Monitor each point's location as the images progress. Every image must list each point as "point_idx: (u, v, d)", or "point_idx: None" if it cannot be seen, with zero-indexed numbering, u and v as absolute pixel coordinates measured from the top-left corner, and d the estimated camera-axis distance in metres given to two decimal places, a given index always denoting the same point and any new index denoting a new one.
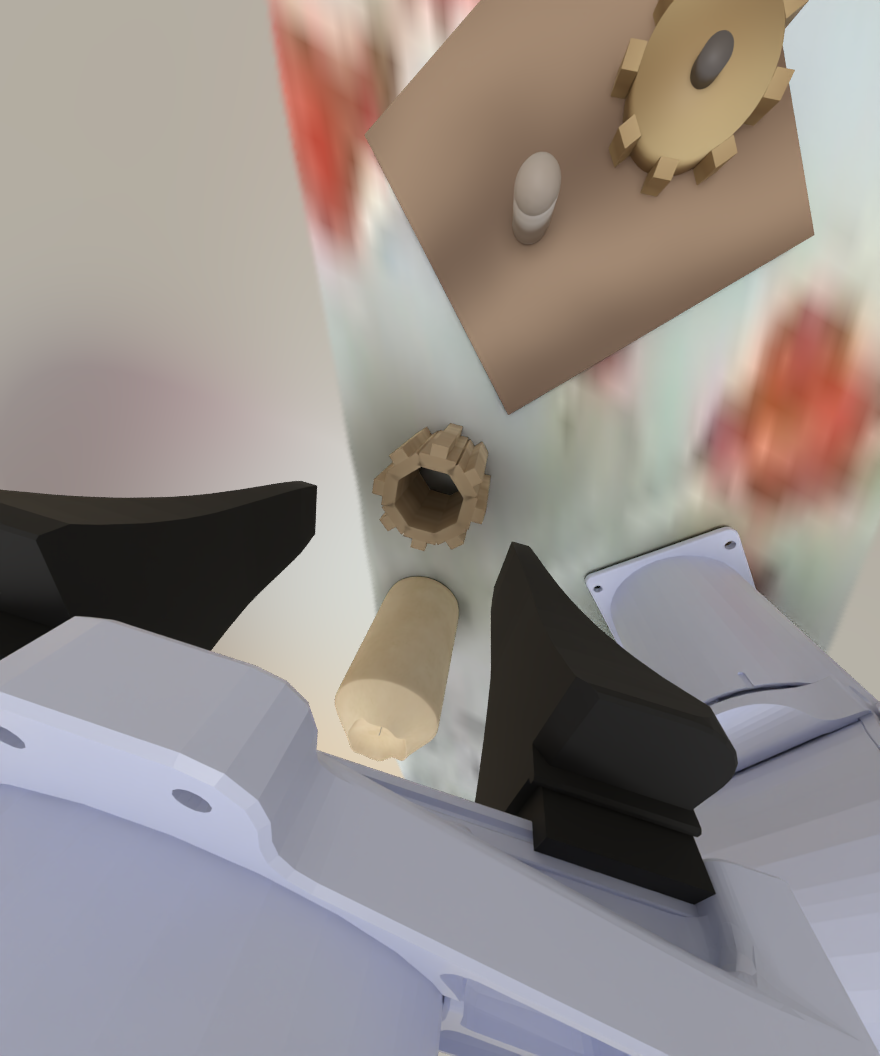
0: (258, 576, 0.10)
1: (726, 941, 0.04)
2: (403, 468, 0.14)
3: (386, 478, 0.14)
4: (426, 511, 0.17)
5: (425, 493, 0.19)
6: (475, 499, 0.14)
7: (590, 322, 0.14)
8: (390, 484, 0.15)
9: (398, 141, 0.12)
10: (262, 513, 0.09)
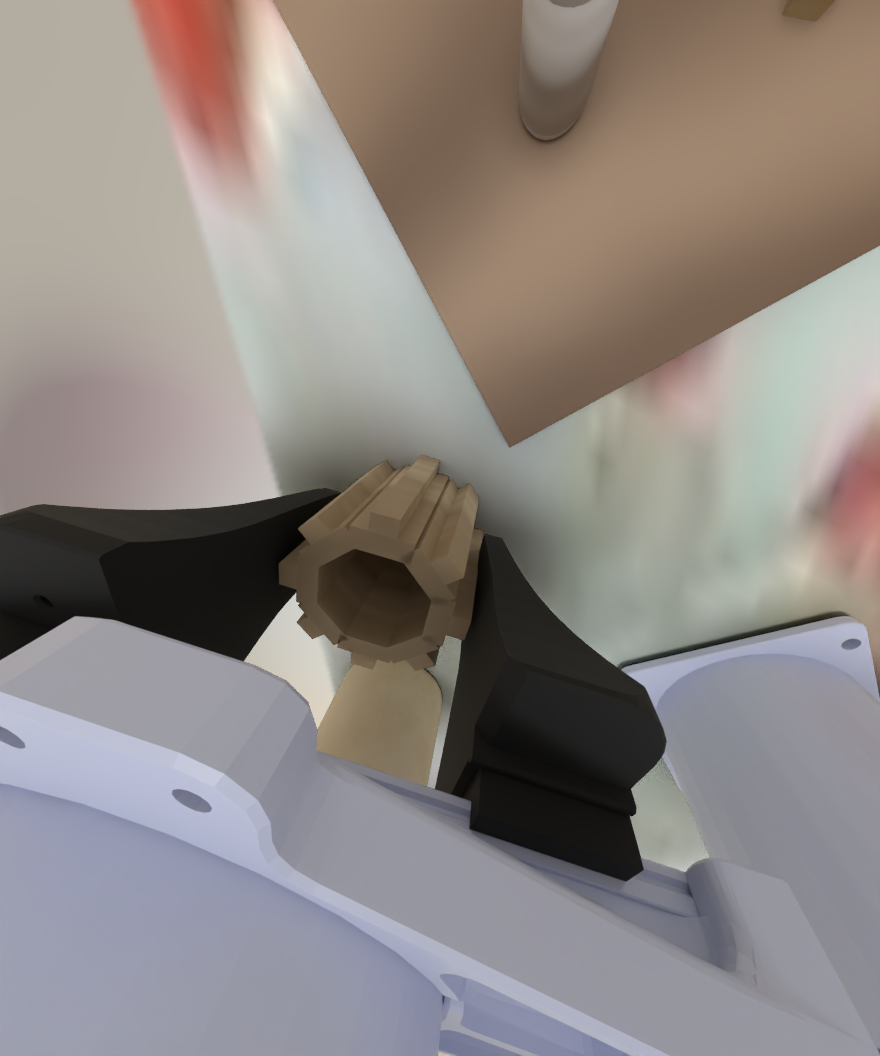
0: None
1: (726, 941, 0.04)
2: (325, 549, 0.08)
3: (298, 563, 0.08)
4: (382, 594, 0.11)
5: None
6: (452, 604, 0.08)
7: (657, 291, 0.08)
8: (306, 573, 0.08)
9: None
10: (294, 522, 0.09)
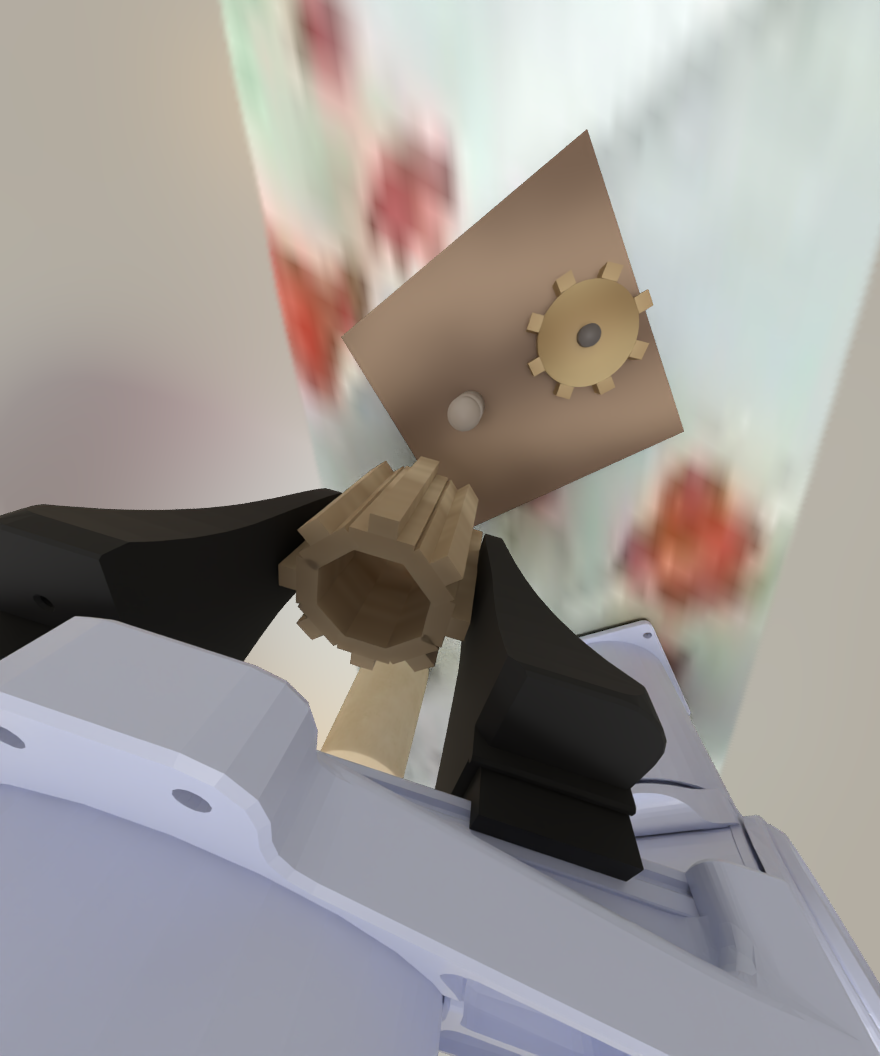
0: None
1: (726, 941, 0.04)
2: (324, 551, 0.08)
3: (298, 564, 0.08)
4: (381, 595, 0.11)
5: None
6: (451, 605, 0.08)
7: (522, 473, 0.17)
8: (306, 574, 0.09)
9: (367, 343, 0.16)
10: (294, 522, 0.09)
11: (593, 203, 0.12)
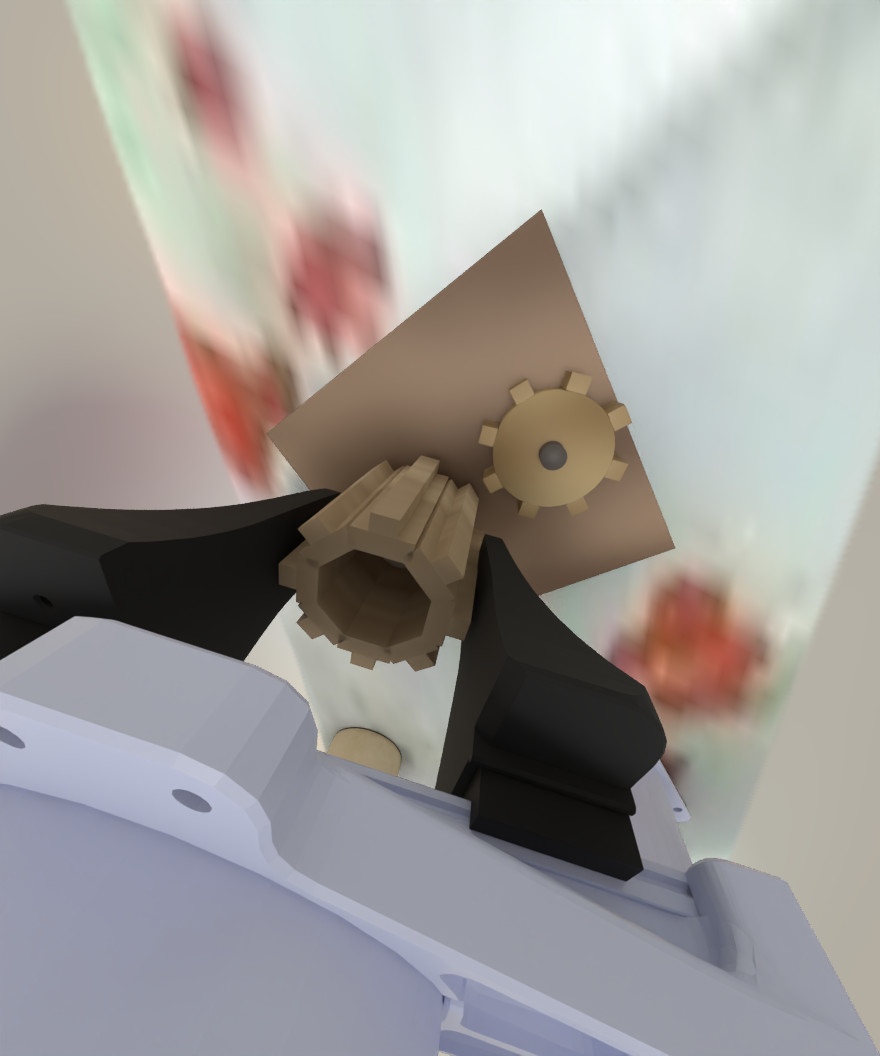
0: None
1: (726, 941, 0.04)
2: (324, 550, 0.08)
3: (298, 564, 0.08)
4: (382, 594, 0.11)
5: None
6: (451, 604, 0.08)
7: None
8: (306, 573, 0.08)
9: (297, 441, 0.13)
10: (294, 522, 0.09)
11: (554, 296, 0.10)
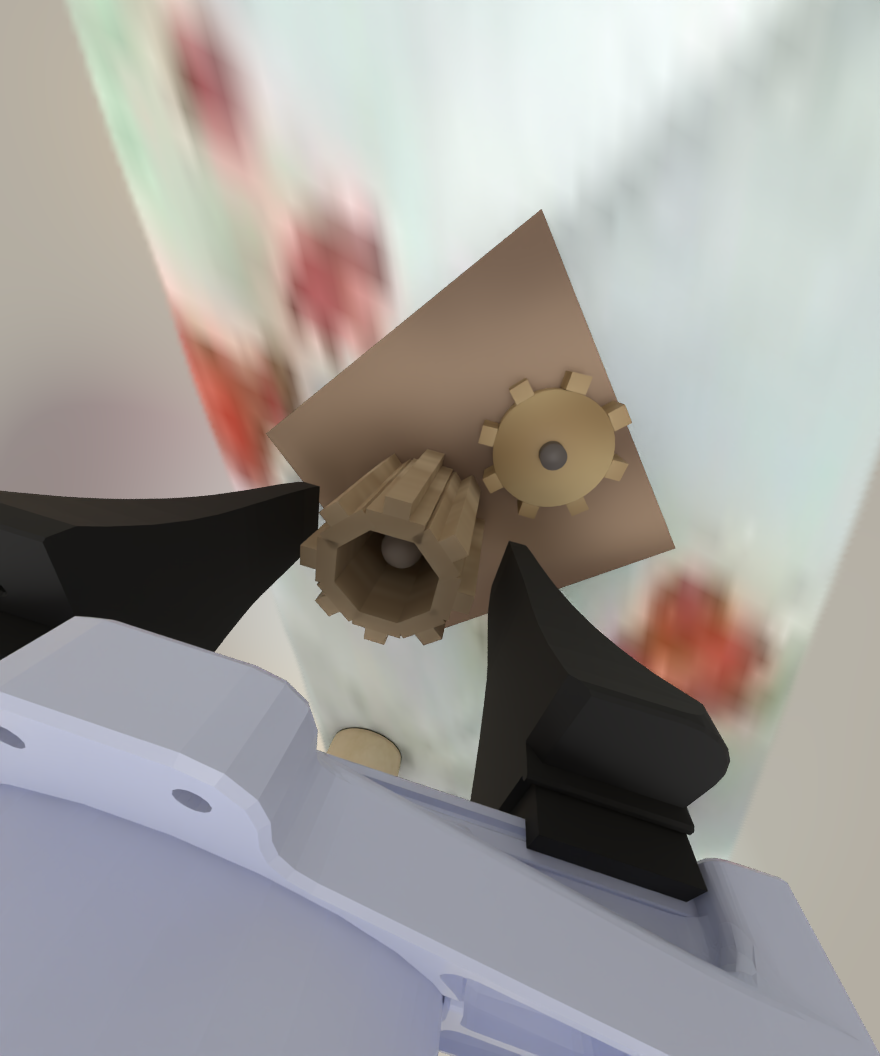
0: (261, 577, 0.10)
1: (726, 941, 0.04)
2: (343, 531, 0.09)
3: (318, 545, 0.09)
4: (391, 577, 0.12)
5: None
6: (457, 580, 0.09)
7: (487, 581, 0.15)
8: (325, 553, 0.09)
9: (297, 441, 0.13)
10: (266, 514, 0.09)
11: (554, 296, 0.10)
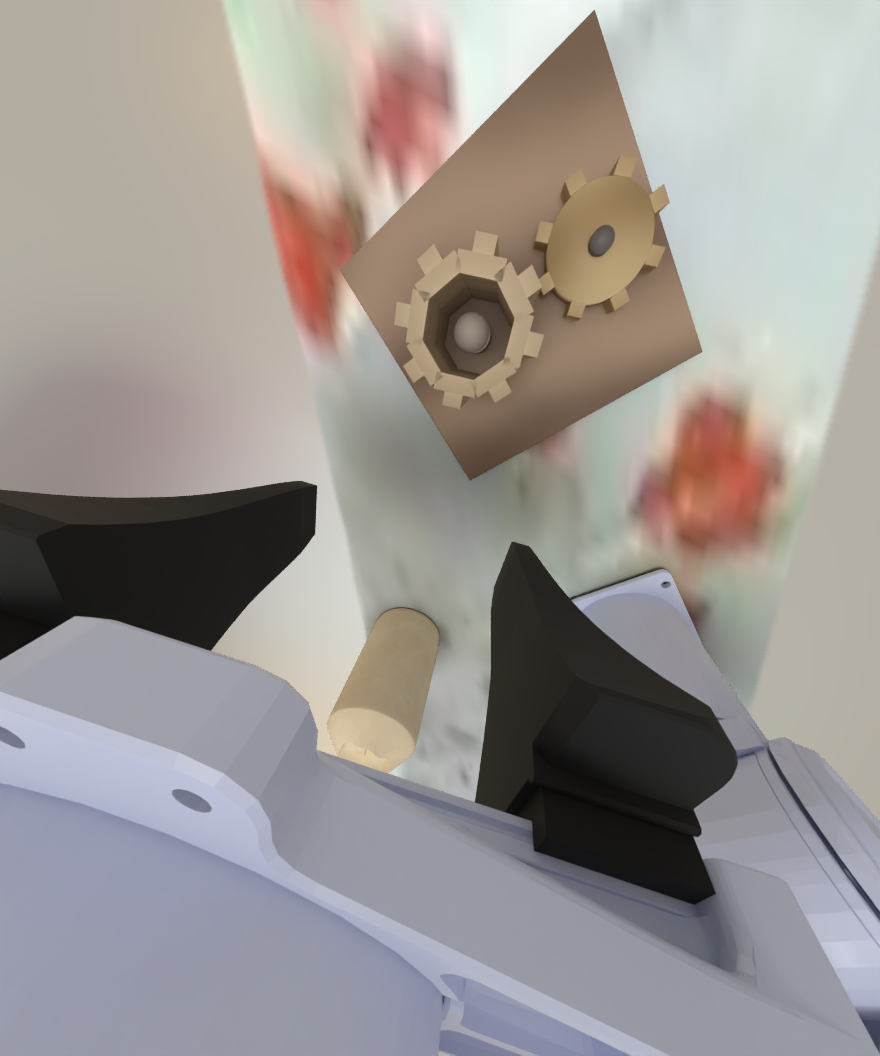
0: (258, 576, 0.10)
1: (726, 942, 0.04)
2: (436, 278, 0.11)
3: (413, 298, 0.11)
4: (458, 372, 0.14)
5: (453, 366, 0.16)
6: (530, 317, 0.11)
7: (532, 411, 0.17)
8: (418, 307, 0.11)
9: (367, 275, 0.15)
10: (262, 513, 0.09)
11: (602, 96, 0.12)
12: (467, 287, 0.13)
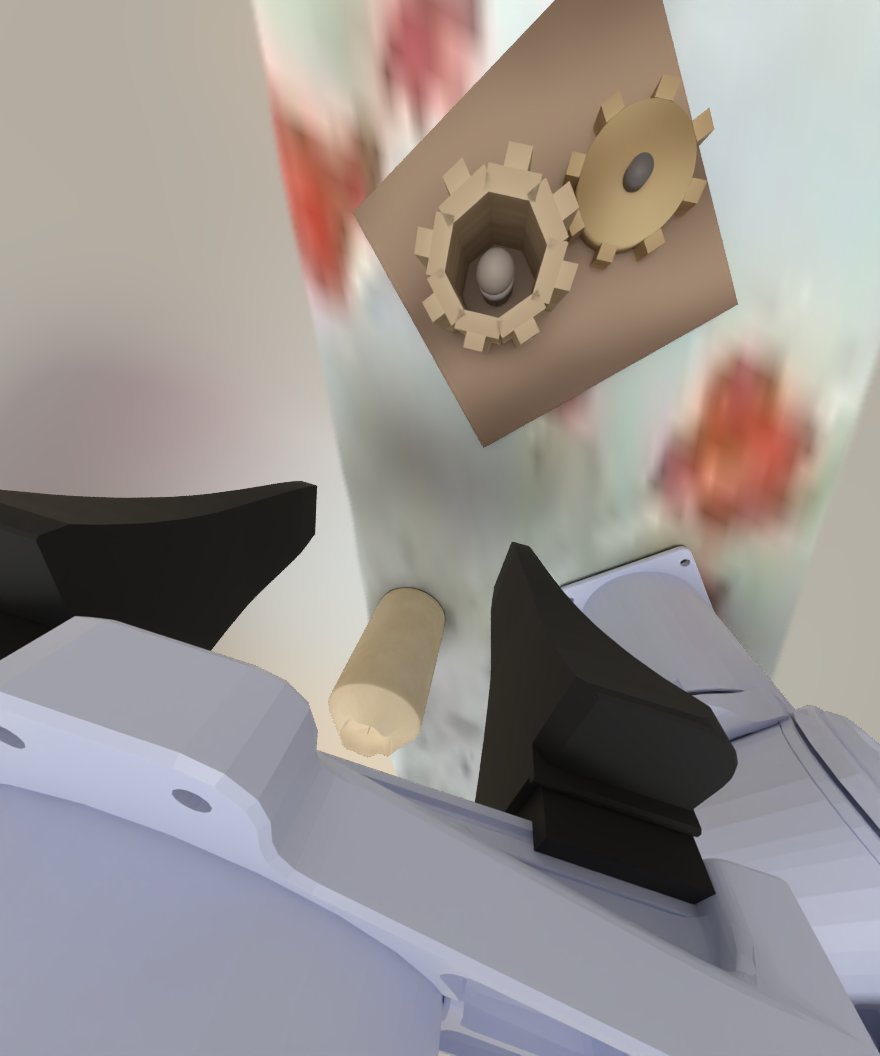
0: (258, 576, 0.10)
1: (726, 941, 0.04)
2: (462, 199, 0.10)
3: (436, 222, 0.10)
4: None
5: None
6: (564, 244, 0.10)
7: (552, 370, 0.16)
8: (441, 233, 0.10)
9: (382, 219, 0.14)
10: (262, 513, 0.09)
11: (644, 12, 0.11)
12: (492, 222, 0.12)
